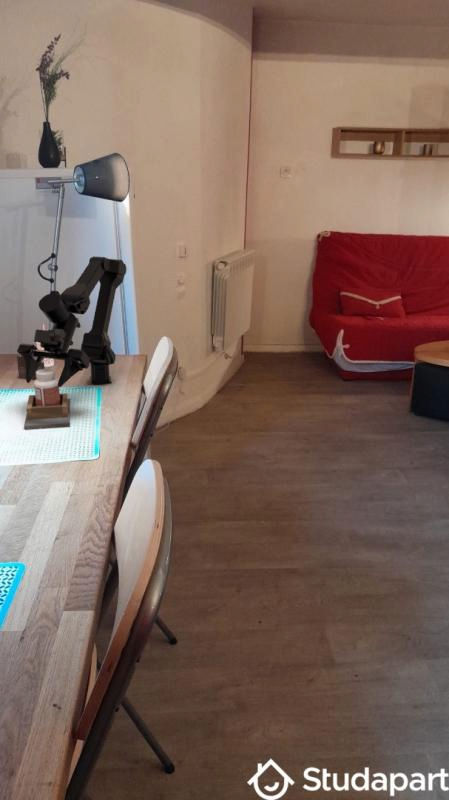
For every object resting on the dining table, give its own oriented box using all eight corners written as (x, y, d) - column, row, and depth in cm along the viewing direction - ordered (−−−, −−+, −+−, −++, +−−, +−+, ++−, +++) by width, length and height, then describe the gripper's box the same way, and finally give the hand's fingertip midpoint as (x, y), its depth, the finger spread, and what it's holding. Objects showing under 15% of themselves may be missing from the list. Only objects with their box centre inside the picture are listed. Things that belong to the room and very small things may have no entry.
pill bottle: (64, 407, 152) (61, 368, 148) (56, 416, 146) (53, 375, 142) (41, 406, 152) (38, 367, 149) (33, 414, 147) (29, 374, 143)
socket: (29, 403, 156) (28, 390, 155) (70, 401, 159) (69, 388, 158) (24, 429, 140) (22, 414, 139) (69, 426, 143) (68, 412, 141)
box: (35, 380, 176) (33, 357, 173) (18, 378, 177) (16, 356, 174) (45, 374, 181) (43, 352, 179) (28, 372, 182) (26, 350, 180)
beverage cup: (39, 362, 193) (35, 322, 188) (57, 362, 194) (54, 322, 189) (35, 367, 188) (32, 326, 183) (54, 367, 188) (51, 326, 183)
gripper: (17, 313, 146) (-5, 365, 140) (82, 319, 142) (62, 373, 136) (36, 335, 156) (17, 385, 150) (98, 342, 152) (80, 393, 146)
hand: (43, 384), depth 145 cm, fingers open, 9 cm apart
